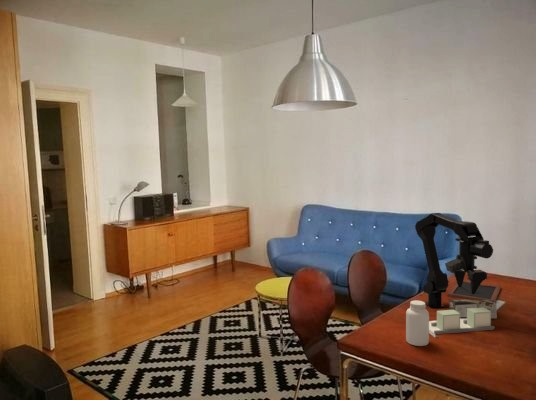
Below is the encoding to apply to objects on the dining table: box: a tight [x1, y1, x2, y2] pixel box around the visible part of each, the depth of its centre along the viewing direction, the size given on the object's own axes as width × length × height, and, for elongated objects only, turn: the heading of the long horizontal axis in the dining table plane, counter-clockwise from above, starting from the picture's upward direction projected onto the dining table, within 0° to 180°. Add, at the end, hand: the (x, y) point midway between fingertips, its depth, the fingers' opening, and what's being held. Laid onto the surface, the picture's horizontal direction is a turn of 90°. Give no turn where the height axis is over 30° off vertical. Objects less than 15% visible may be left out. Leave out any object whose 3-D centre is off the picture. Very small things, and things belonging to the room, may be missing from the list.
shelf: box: [429, 317, 496, 339], centre depth 165 cm, size 12×24×3 cm, turn 97°
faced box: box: [466, 307, 492, 328], centre depth 164 cm, size 5×7×6 cm, turn 97°
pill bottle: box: [405, 300, 430, 347], centre depth 154 cm, size 8×8×15 cm
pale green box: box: [436, 309, 461, 330], centre depth 162 cm, size 5×7×6 cm, turn 97°
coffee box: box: [448, 298, 498, 319], centre depth 176 cm, size 9×6×16 cm
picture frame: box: [447, 281, 501, 303], centre depth 208 cm, size 20×2×25 cm
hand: (466, 290), depth 173 cm, fingers open, 9 cm apart
